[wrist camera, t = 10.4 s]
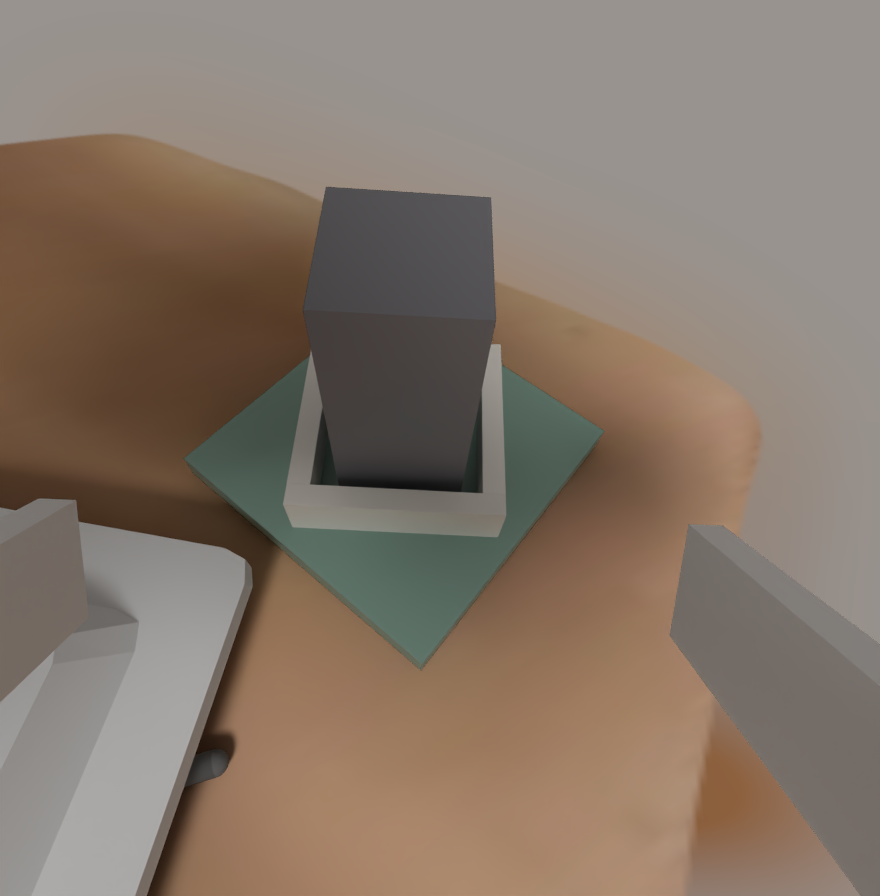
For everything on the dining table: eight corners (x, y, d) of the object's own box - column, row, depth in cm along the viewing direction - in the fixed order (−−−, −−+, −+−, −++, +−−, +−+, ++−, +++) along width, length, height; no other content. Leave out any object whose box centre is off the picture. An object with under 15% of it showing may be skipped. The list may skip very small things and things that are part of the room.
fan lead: (-83, 872, 17) (-104, 876, 16) (-79, 839, 17) (-99, 842, 16) (233, 773, 18) (226, 772, 18) (230, 745, 19) (223, 744, 18)
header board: (193, 472, 23) (165, 431, 21) (388, 309, 29) (387, 258, 26) (421, 670, 20) (424, 652, 17) (595, 445, 25) (619, 403, 22)
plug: (340, 496, 22) (302, 309, 13) (352, 395, 24) (326, 181, 16) (458, 501, 22) (496, 320, 14) (459, 400, 25) (491, 192, 16)
